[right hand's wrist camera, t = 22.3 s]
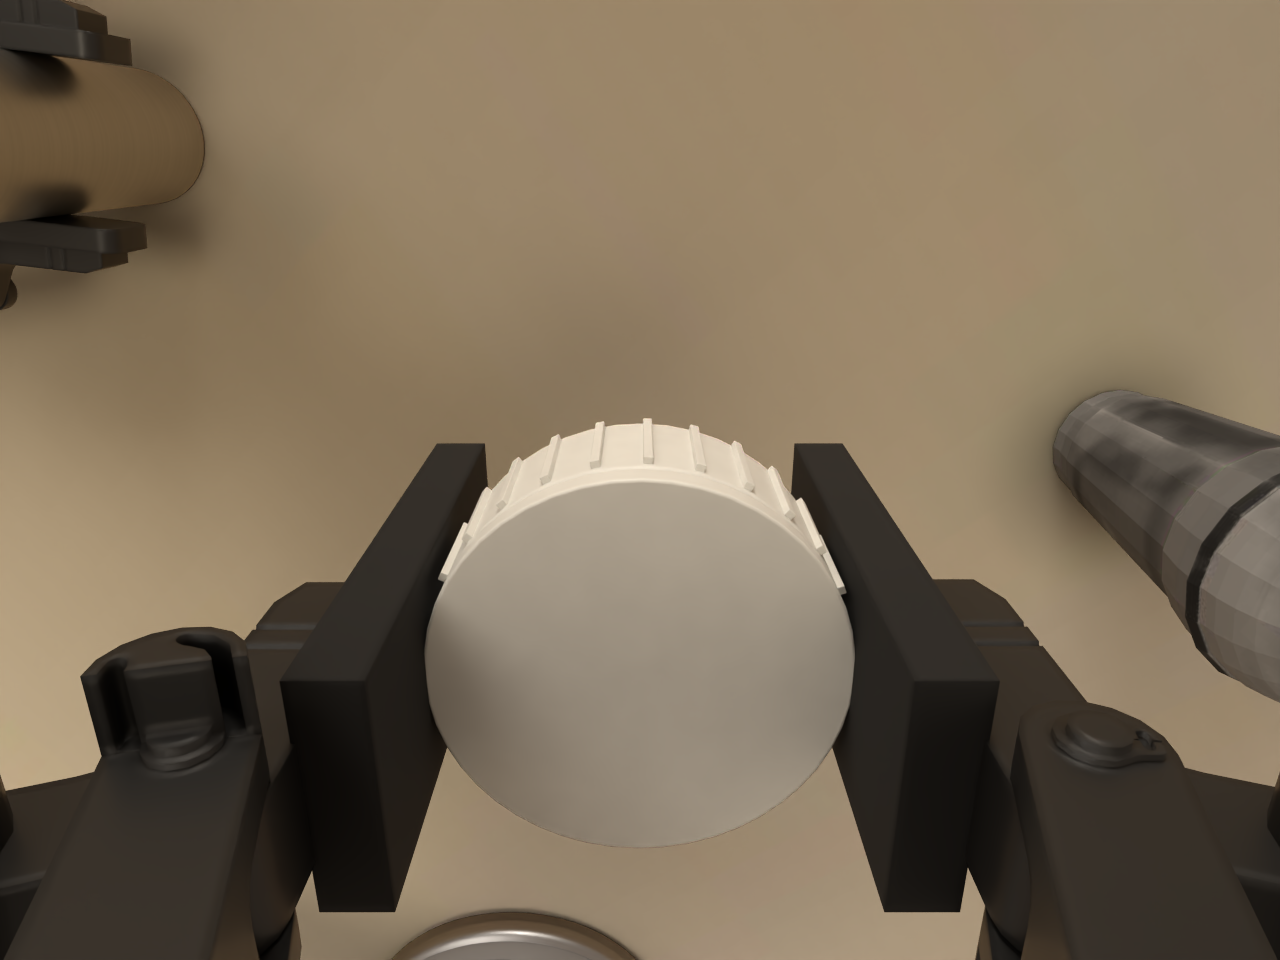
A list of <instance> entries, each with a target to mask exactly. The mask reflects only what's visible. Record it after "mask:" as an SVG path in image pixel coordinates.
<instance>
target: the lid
mask: <svg viewBox="0 0 1280 960" xmlns="http://www.w3.org/2000/svg"><path fill="white" fill-rule="evenodd" d="M438 580H441V581H443V582H444V584H443V586H442V589H441V591H440V593H439V595H438V598H437V600H436V602H435V604H434V608H433V611H432V614H431V618H430V621H429V624H428V628H427V634H426V641H425V648H424V657H425V668H426V678H427V688H428V697H429V704H430V707H431V711H432V714H433V717H434V720H435V723H436V725H437V728H438V730H439V732H440V734H441V736H442V738H443V740H444V742H445V744H446V746H447V747H448V749H449V750H450V752H451V753H452V755H453V756H454V758H455V759H456V761H457V762H458V763H459V765H460V766H461V768H462V769H463V770H464V771H465V772H466V773H467V774H468V775H469V776H470V778H471V779H472V780H473V781H474V782H475V783H476V784H477V785H478V786H479V787H480V788H481V789H482V790H484V791H485V792H486V793H487V794H488V795H489V796H490V797H492V798H493V799H494V800H495V801H496V802H498V803H499V804H501V805H502V806H504V807H505V808H507V809H508V810H510V811H511V812H513V813H514V814H516V815H517V816H519V817H521V818H523V819H525V820H527V821H529V822H531V823H533V824H534V825H536V826H538V827H541V828H543V829H546V830H548V831H551V832H554V833H556V834H559V835H561V836H565V837H568V838H572V839H576V840H579V841H583V842H587V843H593V844H599V845H605V846H611V847H626V848H653V847H667V846H674V845H681V844H688V843H692V842H696V841H700V840H704V839H708V838H712V837H715V836H718V835H721V834H723V833H726V832H729V831H731V830H734V829H737V828H739V827H741V826H743V825H745V824H747V823H749V822H751V821H753V820H755V819H757V818H759V817H761V816H762V815H764V814H765V813H767V812H768V811H770V810H771V809H773V808H774V807H776V806H777V805H779V804H780V803H782V802H783V801H784V800H785V799H787V798H788V797H789V796H790V795H791V794H793V793H794V792H795V791H796V790H797V789H798V788H800V787H801V786H802V785H803V784H804V782H805V781H806V780H807V779H808V778H809V777H810V776H811V775H812V774H813V773H814V772H815V771H816V769H817V768H818V767H819V765H820V764H821V763H822V761H823V760H824V758H825V757H826V755H827V754H828V753H829V751H830V750H831V748H832V746H833V744H834V742H835V740H836V739H837V737H838V735H839V733H840V731H841V729H842V727H843V724H844V721H845V718H846V715H847V712H848V709H849V706H850V700H851V692H852V683H853V672H854V662H855V645H854V637H853V630H852V627H851V623H850V620H849V616H848V612H847V609H846V606H845V604H844V602H843V599H842V597H841V595H842V594H845V593H846V589H845V586H844V584H843V582H842V580H841V578H840V575H839V573H838V571H837V569H836V567H835V564H834V562H833V560H832V558H831V556H830V554H829V551H828V549H827V547H826V545H825V543H824V540H823V538H822V536H821V535H819V533H818V530H817V528H816V526H815V524H814V522H813V519H812V517H811V515H810V513H809V511H808V508H807V506H806V504H805V502H804V501H803V499H802V498H800V499H798V500H795V499H794V497H793V496H792V495H791V493H790V492H789V491H788V490H787V489H786V488H785V487H784V485H783V483H782V480H781V478H780V475H779V473H778V471H777V470H776V469H775V468H774V467H773V466H771V467H770V468H769V469H768V470H767V469H766V468H765V467H764V466H763V465H761V464H760V463H759V462H758V461H756V460H754V459H753V458H751V457H750V456H748V455H747V454H745V453H744V451H743V448H742V445H741V444H740V443H738V442H736V441H734V442H733V443H732V445H729V444H727V443H725V442H723V441H721V440H719V439H717V438H714V437H711V436H708V435H705V434H702V433H700V432H699V427H698V426H695V425H690V427H689V430H688V429H683V428H678V427H673V426H668V425H655V424H652V419H649V418H644V419H643V424H623V425H612V426H607V427H605V423H604V421H603V422H597V423H596V425H595V429H590V430H587V431H584V432H581V433H578V434H575V435H571V436H568V437H565V438H563V439H561V438H560V436H559V435H556V436H554V437H552V438H551V441H550V444H549V445H548V446H546V447H544V448H542V449H540V450H539V451H537V452H536V453H534V454H533V455H531V456H530V457H528V458H526V459H525V460H523V461H522V460H521V459H520V457H518V458H516V459H515V460H514V461H513V462H512V465H511V467H510V470H509V472H508V474H506V475H505V476H504V477H503V478H502V479H501V480H500V482H499V483H498V484H497V485H496V486H495V487H494V488H493V489H492V490H491V489H489V488H488V487H486V488H485V489H484V491H483V492H482V494H481V496H480V498H479V500H478V503H477V505H476V507H475V509H474V512H473V514H472V516H471V518H470V521H469V523H468V524H467V523H465V522H464V523H463V525H462V527H461V529H460V532H459V534H458V536H457V538H456V540H455V542H454V545H453V547H452V549H451V551H450V553H449V556H448V558H447V560H446V562H445V564H444V566H443V569H442V571H441V573H440V575H439V577H438Z"/></svg>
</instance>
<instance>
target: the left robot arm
mask: <svg viewBox="0 0 1280 960" xmlns="http://www.w3.org/2000/svg"><path fill="white" fill-rule="evenodd" d="M0 48H4V49H10V50H17V51H23V52H30V53H36V54H43V55H49V56H57V57H65V58H73V59H81V60H89V61H97V62H105V63H113V64H121V65H130V66H132V56H131V44H130V39H126V38H121V37H117V36H112V35H108V30H107V19H106V16H104V15H102V14H100V13H99V12H97V11H95V10H93V9H91V8H89V7H87V6H84V5H80V4H76V3H72V2H68V1H64V0H0ZM145 248H147V239H146V226H145V224H143V223H138V222H130V221H121V220H113V219H105V218H96V217H88V216H80V215H71V214H68V215H60V216H52V217H43V218H35V219H27V220H19V221H10V222H2V223H0V310H2V309H6V308H9V307H11V306H12V305H13V304H14V303H15V302H16V299H17V289H16V286H15V284H14V283H13V281H12V280H11V275H12V271H13V269H14V267H15V265H19V266H28V267H36V268H45V269H53V270H62V271H70V272H79V273H89V272H93V271H98V270H102V269H106V268H111V267H114V266H118V265H121V264H125V263H128V254H127V252H131V251H136V250H141V249H145Z"/></svg>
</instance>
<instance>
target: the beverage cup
mask: <svg viewBox="0 0 1280 960" xmlns="http://www.w3.org/2000/svg"><path fill="white" fill-rule="evenodd" d="M1053 460H1054V465H1055V468H1056V471H1057V473H1058V476H1059V478H1060V479H1061V480H1062V481H1063V482H1064V483H1065V484H1066V485H1067V486H1068V487H1069V489H1070V490H1071V492H1072V494H1073V496H1074V497H1075V498H1076V499H1077V500H1078V501H1079V502H1080V503H1081V504H1082V505H1083V506H1084V507H1085V508H1086V510H1087V511H1088V512H1089V513H1090V514H1091V515H1092V516H1093V517H1094V518H1095V519H1096V520H1097V521H1098V522H1099V524H1100V525H1101V526H1102V527H1103V528H1104V529H1105V530H1106V531H1107V532H1108V533H1109V534H1110V535H1111V536H1112V537H1113V539H1114V540H1115V541H1116V542H1117V543H1118V544H1119V545H1120V546H1121V547H1122V548H1123V549H1124V550H1125V551H1126V553H1127V554H1128V555H1129V556H1130V557H1131V558H1132V559H1133V560H1134V561H1135V562H1136V563H1137V564H1138V565H1139V567H1140V568H1141V569H1142V570H1143V571H1144V572H1145V573H1146V574H1147V575H1148V576H1149V577H1150V578H1151V579H1152V580H1153V582H1154V583H1155V584H1156V585H1157V586H1158V587H1159V588H1160V589H1161V590H1162V591H1163V592H1164V593H1165V594H1166V596H1167V597H1168V599H1169V602H1170V604H1171V607H1172V608H1173V610H1174V611H1175V613H1176V614H1177V616H1178V617H1179V619H1180V620H1181V622H1182V623H1183V625H1184V626H1185V628H1186V629H1187V630H1188V631H1189V633H1190V634H1191V635H1192V638H1193V640H1194V643H1195V646H1196V648H1197V649H1198V650H1199V651H1200V652H1201V653H1202V654H1203V655H1204V657H1205V658H1206V659H1207V660H1208V661H1209V662H1210V663H1211V664H1212V665H1213V666H1214V667H1215V668H1216V669H1217V670H1218V671H1219V672H1221V673H1223V674H1225V675H1227V676H1229V677H1231V678H1233V679H1236V680H1238V681H1240V682H1241V683H1243V684H1244V685H1245V686H1247V687H1249V688H1251V689H1253V690H1255V691H1257V692H1259V693H1261V694H1263V695H1264V696H1267V697H1269V698H1271V699H1273V700H1275V701H1277V702H1280V436H1279V435H1276V434H1273V433H1269V432H1266V431H1263V430H1260V429H1257V428H1254V427H1251V426H1248V425H1244V424H1241V423H1238V422H1235V421H1232V420H1229V419H1226V418H1223V417H1219V416H1216V415H1213V414H1210V413H1207V412H1204V411H1201V410H1198V409H1194V408H1191V407H1188V406H1185V405H1182V404H1179V403H1176V402H1173V401H1169V400H1166V399H1163V398H1157V397H1150V396H1144V395H1142V394H1140V393H1138V392H1132V391H1124V390H1117V391H1111V392H1105V393H1101V394H1099V395H1097V396H1094V397H1092V398H1090V399H1088V400H1086V401H1084V402H1083V403H1082V404H1080V405H1079V406H1078V407H1077V408H1076V409H1075V410H1073V411H1072V412H1071V413H1070V414H1069V415H1068V417H1067V418H1066V420H1065V421H1064V423H1063V424H1062V425H1061V427H1060V428H1059V430H1058V433H1057V436H1056V440H1055V443H1054V446H1053Z"/></svg>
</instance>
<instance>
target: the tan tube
mask: <svg viewBox="0 0 1280 960" xmlns="http://www.w3.org/2000/svg"><path fill="white" fill-rule="evenodd" d="M203 157H204V141H203V134H202V130H201V127H200V124H199V121H198V119H197V117H196V115H195V112H194V110H193V109H192V107H191V106H190V104H189V103H188V101H187V100H186V99H185V98H184V96H183V95H182V94H181V93H180V92H179V91H178V90H177V89H176V88H175V87H174V86H172V85H171V84H170V83H169V82H167V81H166V80H164V79H163V78H161V77H159V76H157V75H155V74H153V73H151V72H148V71H145V70H141V69H136V68H130V67H123V66H117V65H110V64H104V63H97V62H91V61H84V60H78V59H71V58H65V57H57V56H49V55H43V54H36V53H30V52H23V51H17V50H10V49H4V48H0V223H2V222H10V221H19V220H27V219H35V218H43V217H52V216H60V215H68V214H76V213H84V212H93V211H101V210H109V209H117V208H126V207H134V206H142V205H150V204H158V203H164V202H168V201H171V200H173V199H176V198H177V197H179V196H181V195H182V194H184V193H185V192H186V191H187V190H188V189H189V188H190V187H191V186H192V185H193V183H194V182H195V180H196V179H197V177H198V175H199V173H200V170H201V167H202V163H203Z"/></svg>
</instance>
